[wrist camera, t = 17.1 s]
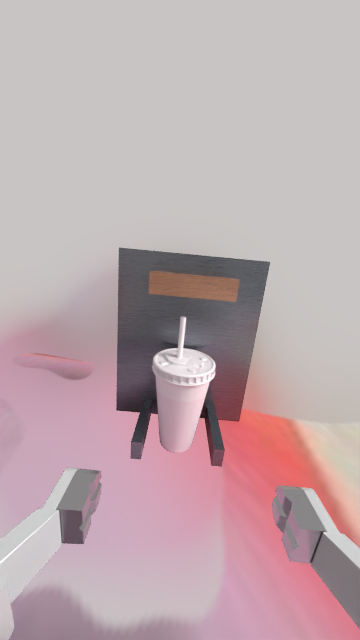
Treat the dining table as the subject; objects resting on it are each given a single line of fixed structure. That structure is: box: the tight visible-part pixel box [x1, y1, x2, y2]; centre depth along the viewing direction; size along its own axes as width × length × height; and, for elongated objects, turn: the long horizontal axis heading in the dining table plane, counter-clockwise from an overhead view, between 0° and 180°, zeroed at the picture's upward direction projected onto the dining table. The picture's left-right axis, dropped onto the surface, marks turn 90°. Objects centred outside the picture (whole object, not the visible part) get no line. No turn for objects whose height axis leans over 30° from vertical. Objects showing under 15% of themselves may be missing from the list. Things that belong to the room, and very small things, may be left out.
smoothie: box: [152, 316, 216, 453], centre depth 21 cm, size 6×6×14 cm
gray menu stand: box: [117, 248, 270, 466], centre depth 21 cm, size 16×8×20 cm, turn 89°
